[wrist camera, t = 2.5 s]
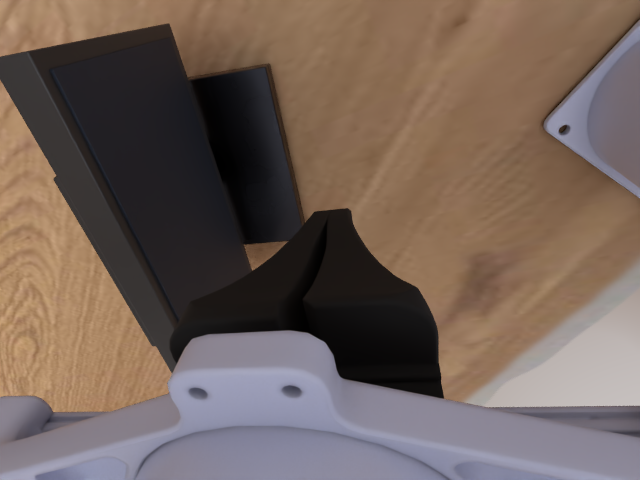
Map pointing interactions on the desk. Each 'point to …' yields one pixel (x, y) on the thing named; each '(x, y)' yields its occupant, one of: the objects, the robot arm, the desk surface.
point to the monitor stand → (250, 151)
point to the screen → (133, 168)
